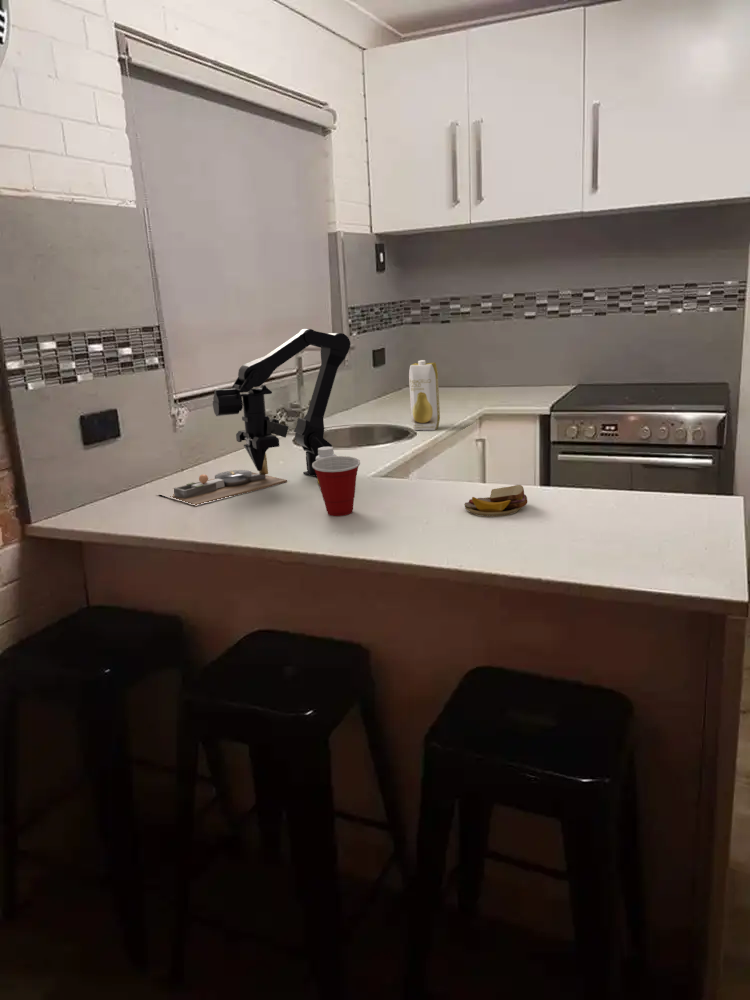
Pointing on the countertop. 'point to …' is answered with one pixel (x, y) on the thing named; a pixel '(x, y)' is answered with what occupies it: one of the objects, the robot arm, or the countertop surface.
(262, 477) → the wheel
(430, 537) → the countertop surface
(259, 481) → the wooden base board
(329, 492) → the plastic cup
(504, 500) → the toy sandwich meal
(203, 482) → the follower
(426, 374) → the juice carton
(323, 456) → the supplement bottle
